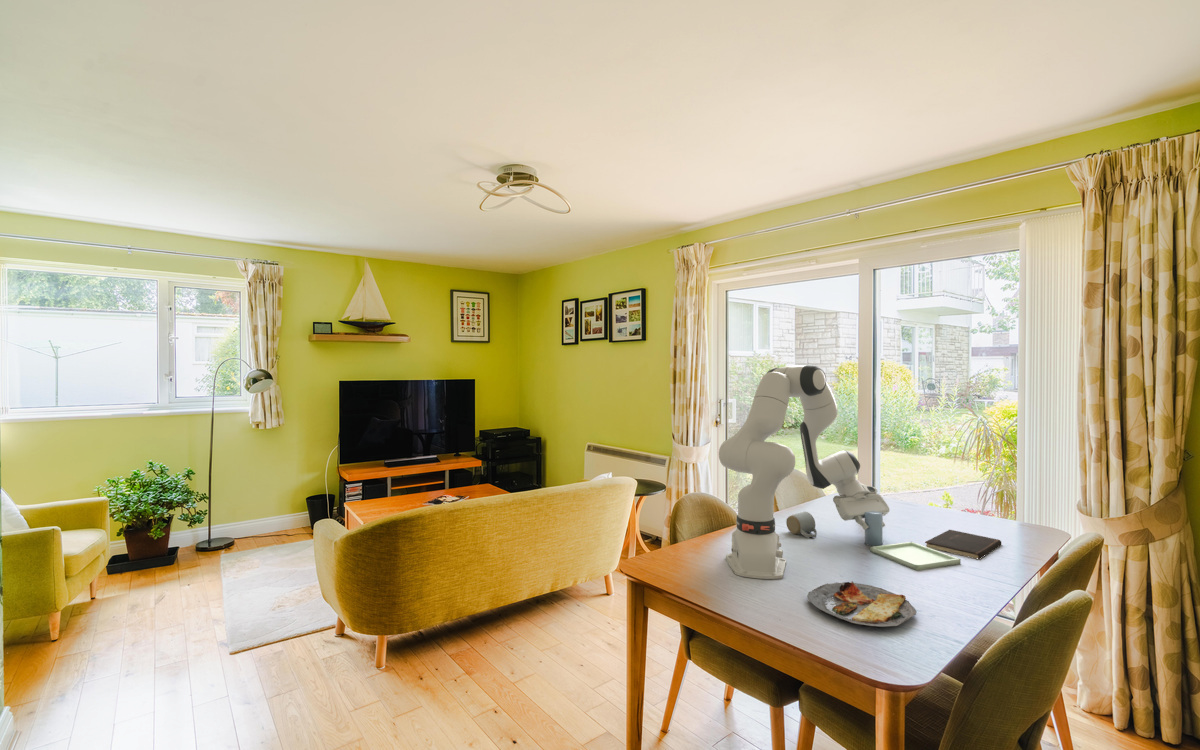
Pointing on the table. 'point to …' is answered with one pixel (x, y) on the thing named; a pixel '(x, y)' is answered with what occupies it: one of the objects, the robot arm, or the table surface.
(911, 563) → the tray
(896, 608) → the food plate
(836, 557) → the table surface
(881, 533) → the grey cylinder
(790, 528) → the ceramic mug
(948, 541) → the hardcover book
